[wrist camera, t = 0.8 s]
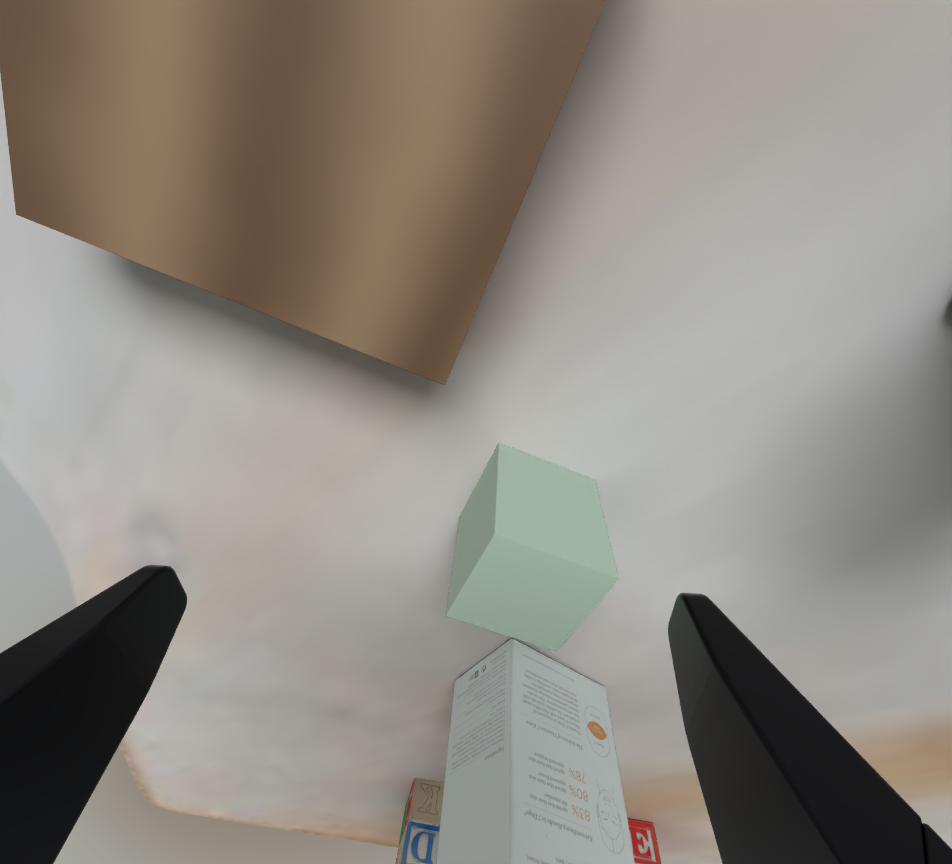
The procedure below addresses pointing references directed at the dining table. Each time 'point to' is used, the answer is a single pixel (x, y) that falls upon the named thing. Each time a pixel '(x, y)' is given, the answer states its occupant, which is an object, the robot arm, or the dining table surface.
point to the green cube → (530, 551)
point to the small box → (531, 767)
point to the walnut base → (294, 148)
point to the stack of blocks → (425, 821)
